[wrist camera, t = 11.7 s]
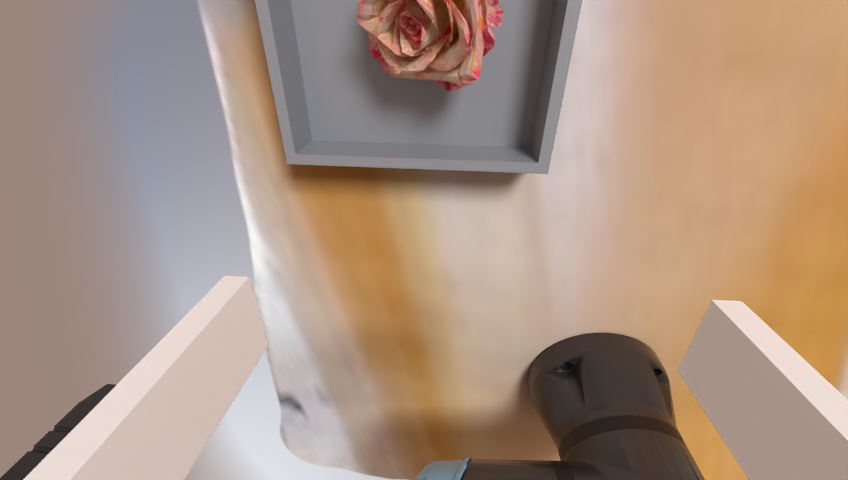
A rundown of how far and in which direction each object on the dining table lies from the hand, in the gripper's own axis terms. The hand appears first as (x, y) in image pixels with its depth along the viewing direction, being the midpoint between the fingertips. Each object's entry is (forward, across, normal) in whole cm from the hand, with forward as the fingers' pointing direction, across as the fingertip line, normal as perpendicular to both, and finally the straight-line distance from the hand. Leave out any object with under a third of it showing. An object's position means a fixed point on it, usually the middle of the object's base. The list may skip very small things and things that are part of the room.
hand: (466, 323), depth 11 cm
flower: (+21, +2, -9) cm, 23 cm away
